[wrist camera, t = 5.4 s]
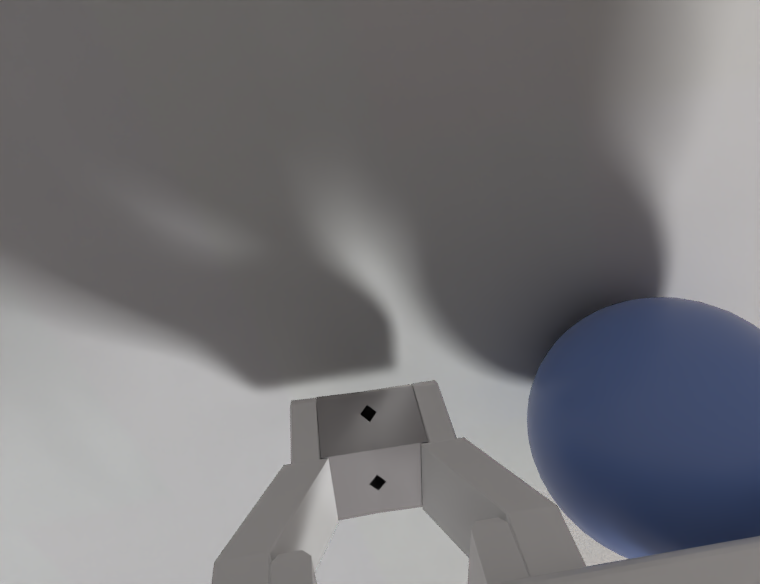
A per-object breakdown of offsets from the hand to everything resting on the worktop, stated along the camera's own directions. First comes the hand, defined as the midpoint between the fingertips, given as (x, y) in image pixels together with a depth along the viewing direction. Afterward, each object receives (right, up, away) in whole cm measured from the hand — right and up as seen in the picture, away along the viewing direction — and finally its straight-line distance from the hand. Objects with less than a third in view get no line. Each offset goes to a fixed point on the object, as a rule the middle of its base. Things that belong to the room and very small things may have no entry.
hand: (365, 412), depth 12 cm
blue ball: (+6, 0, -1) cm, 6 cm away
